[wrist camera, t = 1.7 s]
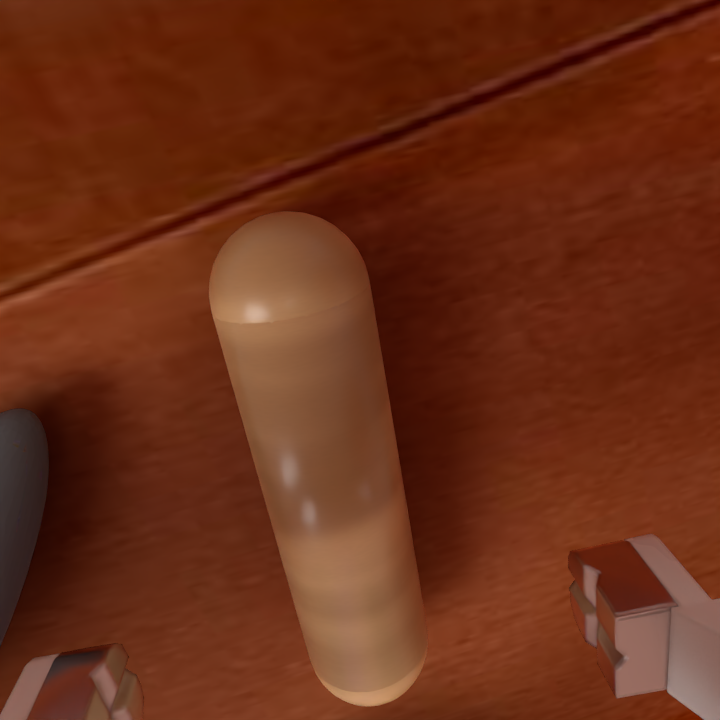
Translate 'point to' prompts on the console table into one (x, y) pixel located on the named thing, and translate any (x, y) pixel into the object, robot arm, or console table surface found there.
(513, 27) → the console table surface
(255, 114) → the console table surface
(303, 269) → the stick
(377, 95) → the console table surface
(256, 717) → the console table surface
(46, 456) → the paintbrush
